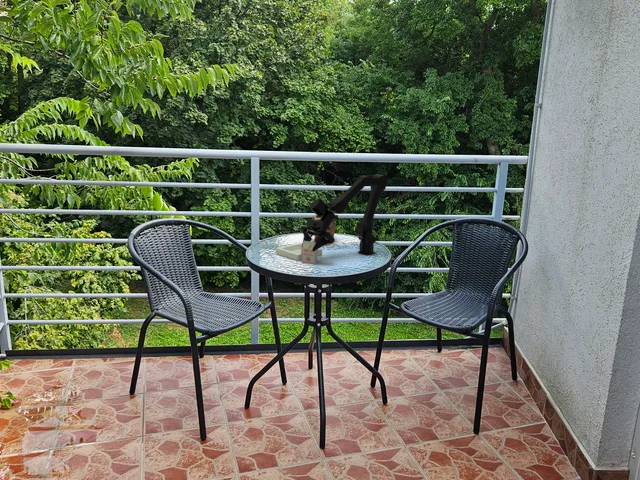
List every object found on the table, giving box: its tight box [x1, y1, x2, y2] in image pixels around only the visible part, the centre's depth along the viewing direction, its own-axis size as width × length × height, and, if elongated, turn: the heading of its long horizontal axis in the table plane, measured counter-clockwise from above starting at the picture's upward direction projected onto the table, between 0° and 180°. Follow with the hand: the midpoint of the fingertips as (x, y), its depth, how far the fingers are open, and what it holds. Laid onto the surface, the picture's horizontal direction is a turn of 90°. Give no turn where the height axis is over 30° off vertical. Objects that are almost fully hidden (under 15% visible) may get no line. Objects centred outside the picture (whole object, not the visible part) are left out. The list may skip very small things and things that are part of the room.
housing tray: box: [275, 242, 323, 262], centre depth 272 cm, size 16×16×3 cm
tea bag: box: [300, 240, 319, 265], centre depth 259 cm, size 4×7×10 cm, turn 64°
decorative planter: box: [311, 214, 337, 245], centre depth 296 cm, size 20×12×14 cm, turn 164°
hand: (307, 249), depth 257 cm, fingers closed on tea bag, 7 cm apart
